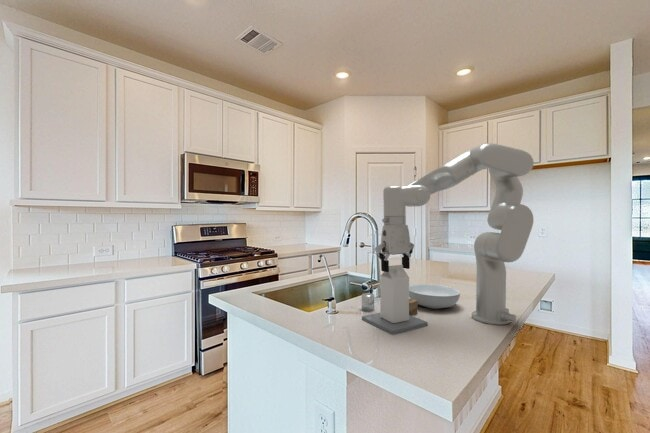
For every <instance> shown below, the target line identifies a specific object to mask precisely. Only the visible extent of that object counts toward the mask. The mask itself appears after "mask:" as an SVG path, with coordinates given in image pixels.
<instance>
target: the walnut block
mask: <svg viewBox="0 0 650 433" xmlns="http://www.w3.org/2000/svg"><path fill="white" fill-rule="evenodd" d="M418 305H419V304H418V300H414V299H410V298H409V315H411V316H414V315H416V314H418V307H419V306H418Z"/></svg>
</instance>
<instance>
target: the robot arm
mask: <svg viewBox="0 0 650 433" xmlns="http://www.w3.org/2000/svg"><path fill="white" fill-rule="evenodd" d="M534 163H535V161H534V158H533V157H532V155H531V154H530V153H528V152H527V151H525V150H523V149H519V148H514V147H511V146H506V145H502V144H497V143H489V142H488V143H483V144H481V145H480V144H479V145H477V146H474V147H472V148H470V149H467V150H466V151H464V152H463V153H461V154H459V155H457V156H455V157H454V158H453V159H451V160H449V161H447V162H446V163H444V164H443V165H441V166H439V167H436V169H433V170H432V171H431V172H429V173H427V174H425V175H423V176H421V177H420V178H418V179H416V180H415V181H413V182H411V183H409V184H408V185H405V186H402V185H390V186H389V185H388V186H385V187H384V188H383V193H382V194H383V195H382V196H383V218H382V219H381V222H382V223H383V225H382V229H381V230H382V231H381V238H380V239H381V240H380V244H379V245H377V246H376V247H375V248H374V251H375V252H376V256H377V257H378V258H379V260H380V268H381V269H380V270H381V271H382V272H383V273H384V272H389V266H390V264H389V263H390V262H389V261H390V260H388V259H389V257H390V256H391V255H392V256H393V255H402V256H401V265H403V269H406V270H409V269H410V263H411V262H410V261H411V260H410V258H411V257H412V254H413V253H414V251H413V250H414V248H415V244H414V243H412V242H411V238H410V230H409V226H408V224H407V217H406V216H407V215H406V214H407V213H406V212H407V211H406V207H416V208H417V207H422V206H425V205H426V204H427V203H429V201H430V199H431V195H433V194H436V193H438V192H441V191H444V190H447V189H451V188H454V187H455V186H456V185H459V184H460V183H462V182H463V181H465V180H467V179H469V178H470V177H471V176H473V175H475V174H477V173H478V172H480V171H482V170H488V172H489V174H490V176H491V178H492V179H493V181H494V183H495V186H496V188H495V189H496V190H495V194H494V198H493V200H492V203H491V207H490V209H489V212H488V215H487V224H488V226H489V227H490V228H492V229H494V230H496V231H500V232H494V231H493V232H492V231H487V232H482V233H480V234H479V235H478V236H476V238H475V241H474V244H473V249H474V256H475V260H476V262H475V263H476V283H475V284H476V288H475V289H476V291H475V292H476V293H475V294H476V296H475V301H476V302H475V307H476V308H475V310H474V311H471V318H472V319H474V320H476V321H477V322H481V323H485V324H490V325H497V326H498V325H499V326H500V325H501V326H502V325H508V324H510V323H511V322H512V323H516V321H517V315H516V314H513V313H510V312H509V310H510V309H509V308H507V307H506V306H507V301H506V300H507V296H506V295H507V269H506V268H507V267H506V264H505V263H513V262H516V261H517V260H519V259H520V258H521V257H522V255H523V253H524V251H525V249H526V246H527V243H528V240H529V238H530V236H531V232H532V229H533V225H534V214H533V211H532V209H530V207H529V206H527V205H525V204H521V202H522V198H523V196H524V190H523V189H524V187H523V185H522V183H521V181H520V178H519V177H522V176H525V175H526V176H527V174H529V173H530V172H531V171H532V170H533V168H534Z"/></svg>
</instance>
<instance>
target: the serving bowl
mask: <svg viewBox="0 0 650 433" xmlns="http://www.w3.org/2000/svg"><path fill="white" fill-rule="evenodd" d="M460 297H461V292H460V291H459V289H456V288H454V287H450V286H447V285H441V284H433V283H415V284H409V299H414V300H418V305H420V306H421V307H425V308H428V309H433V310H434V309H438V310H439V309H445V308H450V307H452V306H455V305H456V303H457V302H458V301H459V300H460Z"/></svg>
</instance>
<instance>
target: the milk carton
mask: <svg viewBox="0 0 650 433" xmlns="http://www.w3.org/2000/svg"><path fill="white" fill-rule="evenodd" d="M409 286H410V277H409V275H408V274H407V272H406V271H405V268H403V265H402V264H396V265H389V272H384V271H383V272H382V273H381V274H380V307H379V308H380V311H379V313H380V317H382V318H384V319H385V320H387V321H389V322H391V323H397V322H402V321H407V320H409V299H410V297H409Z"/></svg>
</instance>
